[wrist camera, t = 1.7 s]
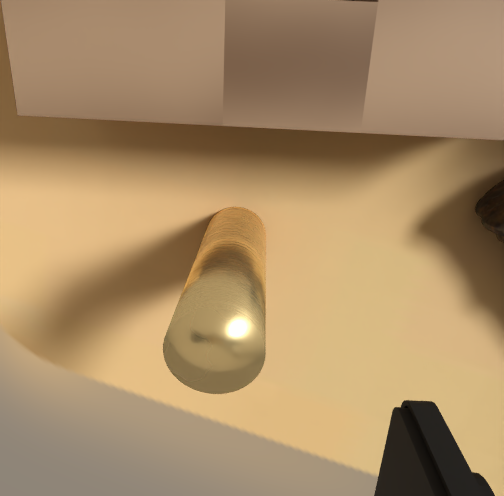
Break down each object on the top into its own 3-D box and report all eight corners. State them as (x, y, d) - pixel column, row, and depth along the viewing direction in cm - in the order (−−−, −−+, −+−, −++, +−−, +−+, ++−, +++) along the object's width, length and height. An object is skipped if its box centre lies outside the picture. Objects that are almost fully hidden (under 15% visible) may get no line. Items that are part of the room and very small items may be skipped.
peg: (264, 264, 23) (262, 396, 13) (206, 261, 23) (164, 390, 13) (267, 208, 22) (268, 310, 12) (206, 205, 22) (161, 304, 12)
